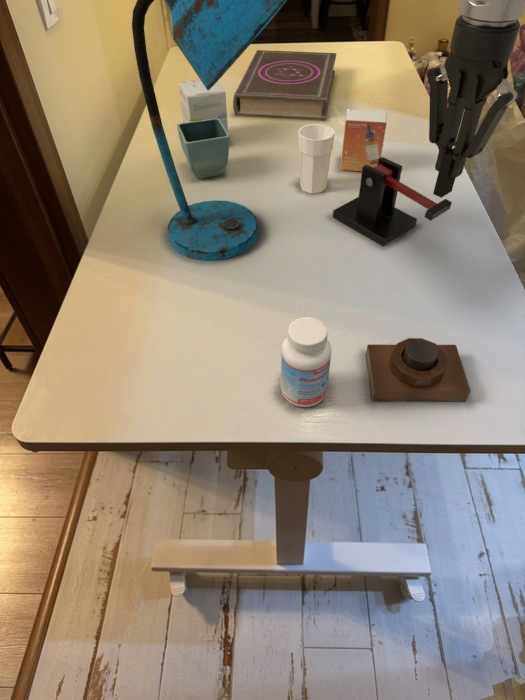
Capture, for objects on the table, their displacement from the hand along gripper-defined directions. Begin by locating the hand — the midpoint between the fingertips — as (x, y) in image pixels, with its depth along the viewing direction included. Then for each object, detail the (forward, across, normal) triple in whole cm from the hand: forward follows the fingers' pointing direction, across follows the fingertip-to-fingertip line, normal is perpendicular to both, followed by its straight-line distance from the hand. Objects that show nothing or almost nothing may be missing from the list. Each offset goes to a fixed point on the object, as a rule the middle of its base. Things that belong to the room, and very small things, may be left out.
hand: (442, 192), depth 80 cm
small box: (+11, -27, +13) cm, 33 cm away
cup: (+11, -28, 0) cm, 30 cm away
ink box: (+11, -59, -3) cm, 60 cm away
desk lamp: (+11, -27, -23) cm, 37 cm away
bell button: (+7, +16, -24) cm, 30 cm away
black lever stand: (+11, -12, 0) cm, 16 cm away
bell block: (+11, +16, -24) cm, 31 cm away
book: (+12, -66, +28) cm, 73 cm away
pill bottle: (+11, +8, -36) cm, 39 cm away
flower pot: (+11, -47, -12) cm, 50 cm away
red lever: (+4, -6, 0) cm, 7 cm away
